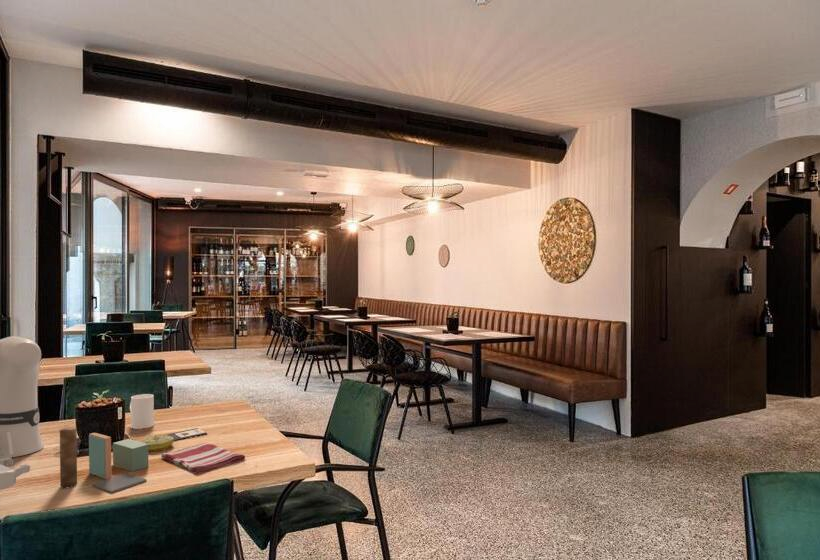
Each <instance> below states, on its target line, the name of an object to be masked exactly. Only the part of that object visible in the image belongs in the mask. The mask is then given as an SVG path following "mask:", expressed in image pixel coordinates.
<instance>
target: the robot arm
mask: <svg viewBox="0 0 820 560" xmlns="http://www.w3.org/2000/svg"><path fill="white" fill-rule="evenodd" d="M41 360H42V350H41V347H40V346H39V345H38V343H37V342H35V341H34V340H32V339H29V338H25V337H22V336H16V335H12V336H6V337H4V338H1V339H0V491H2V490H5V489H8V488H11V487H12V486H14V485H16V484H17V478H18V477H20V476H22V475H23V474H27V473H30V471H31V466H30V465H29V464H22V465H20V466H19V467H16V468H11V467H12V466H13V465H14V464H15V462H14V461H15V460H14V458H17V457H21V456H26V455H29V454H33V453H35V452H36V453H37V452H38V451H40V450H42V449H43V448H44V447H45V446H44V443H43V441H42V437H41V434H40V426H39V424H40V407H39V406H38V381H39V375H40V368H41ZM12 457H13V458H12Z"/></svg>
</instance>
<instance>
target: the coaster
mask: <svg viewBox="0 0 820 560" xmlns="http://www.w3.org/2000/svg"><path fill="white" fill-rule="evenodd" d="M146 482H147V478H144V477H141V476H138V475H135V474H132V473H129V472H126V473H125V472H124V473H122V474H118V475H116V476H111V478H108V479H103V480H100V481H97V482H94V483H92V487H94V486H95V487H94V488H97V489H99V488H100V490H102V491H105V492H107V491H108V493H110V494H114V493H117V492H119V491H121V490H126V489H128V488H131V487H133V486H137V485H140V484H143V483H146Z"/></svg>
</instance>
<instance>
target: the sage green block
mask: <svg viewBox="0 0 820 560" xmlns="http://www.w3.org/2000/svg"><path fill="white" fill-rule="evenodd" d="M114 465H115V467H117V466H118V468H121V469H124V470H127V471H129V472H136V471H140V470H143V469H145V468H148V467H149V452H148V444H145V443H142V442H141V441H138V440H134V439H131V438H126V439H123V440H119V441H116V442H112V466H114Z"/></svg>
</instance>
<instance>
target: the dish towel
mask: <svg viewBox="0 0 820 560" xmlns="http://www.w3.org/2000/svg"><path fill="white" fill-rule="evenodd" d="M160 457H161V458H162V459H164V461H166V462H167V463H170V464H172V465H176V466H178V467H180V468H182V469H185V470H186V471H187V470H188V471H189V472H192V473H194V474H196V475H198V474H202V473H204V472H209V471H211V470H212V471H213V470H217V469H219V467H220V468H223V467H226V466H228V464H229V465H231V464H234V463H239V462H242V461H241V460H243V461H244V460H245V459H246V455H244V454H241V453H235V452H232V451H231V450H228V449H225V448H222V447H220V446H217V445H215V444H212V443H208V442H203V443H199V444H196V445H192V446H189V447H185V448H182V449H178V450H175V451H170V452H163V453H162V454H161V456H160ZM238 461H239V462H238ZM225 465H226V466H225ZM222 466H223V467H222Z"/></svg>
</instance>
